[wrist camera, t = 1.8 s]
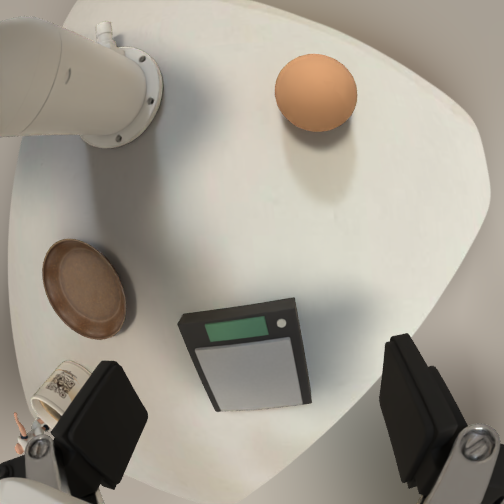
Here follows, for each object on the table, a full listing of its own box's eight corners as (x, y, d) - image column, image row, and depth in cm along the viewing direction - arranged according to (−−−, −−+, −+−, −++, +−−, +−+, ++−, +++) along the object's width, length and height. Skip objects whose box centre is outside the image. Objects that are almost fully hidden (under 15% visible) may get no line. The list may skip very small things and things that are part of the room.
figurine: (34, 373, 46) (-10, 423, 29) (62, 390, 46) (20, 447, 29) (48, 411, 51) (15, 457, 34) (75, 426, 51) (43, 477, 34)
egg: (316, 56, 25) (328, 25, 17) (360, 110, 26) (387, 96, 18) (260, 93, 27) (253, 71, 19) (305, 148, 28) (314, 145, 20)
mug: (71, 350, 41) (37, 389, 31) (121, 397, 43) (96, 441, 33) (55, 371, 44) (25, 405, 34) (99, 411, 46) (75, 449, 36)
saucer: (74, 211, 33) (61, 215, 30) (153, 286, 35) (145, 296, 33) (43, 282, 37) (32, 289, 35) (108, 346, 40) (100, 356, 37)
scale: (183, 313, 36) (175, 326, 33) (294, 297, 34) (295, 310, 31) (218, 400, 41) (214, 414, 38) (310, 391, 38) (312, 406, 35)
